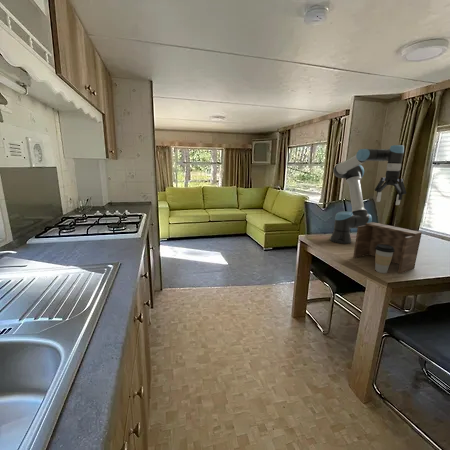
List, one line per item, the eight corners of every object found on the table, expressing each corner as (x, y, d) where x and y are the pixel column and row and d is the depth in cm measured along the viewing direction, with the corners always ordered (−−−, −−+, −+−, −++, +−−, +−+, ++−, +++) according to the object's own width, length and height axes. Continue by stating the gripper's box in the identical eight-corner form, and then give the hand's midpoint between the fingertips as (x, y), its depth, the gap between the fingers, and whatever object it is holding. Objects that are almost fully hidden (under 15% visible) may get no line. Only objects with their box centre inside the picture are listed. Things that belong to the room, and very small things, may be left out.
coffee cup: (381, 275, 139) (385, 249, 136) (367, 268, 148) (371, 244, 145) (394, 273, 142) (399, 248, 138) (380, 267, 151) (384, 243, 147)
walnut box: (353, 257, 166) (358, 224, 160) (367, 253, 174) (372, 222, 168) (400, 273, 142) (407, 235, 137) (414, 268, 150) (421, 232, 145)
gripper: (371, 169, 172) (367, 200, 177) (408, 171, 149) (402, 206, 154) (379, 169, 175) (375, 200, 180) (417, 171, 152) (410, 206, 157)
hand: (387, 203), depth 167 cm, fingers open, 13 cm apart
